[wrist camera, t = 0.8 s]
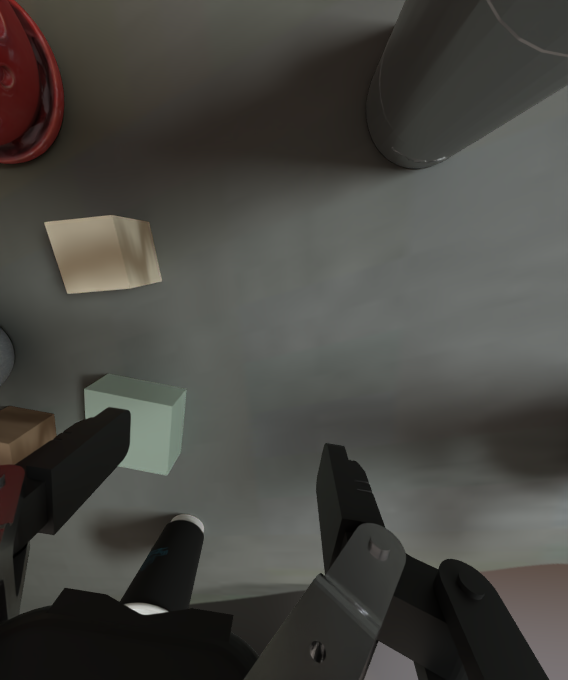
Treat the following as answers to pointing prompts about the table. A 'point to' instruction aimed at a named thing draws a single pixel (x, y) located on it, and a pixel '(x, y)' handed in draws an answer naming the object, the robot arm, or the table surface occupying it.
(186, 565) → the dixie cup
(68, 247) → the birch block
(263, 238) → the table surface
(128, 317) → the table surface
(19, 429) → the walnut block
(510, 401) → the table surface
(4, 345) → the decorative stone
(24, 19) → the plant pot
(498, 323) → the table surface
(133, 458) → the sage green base block
